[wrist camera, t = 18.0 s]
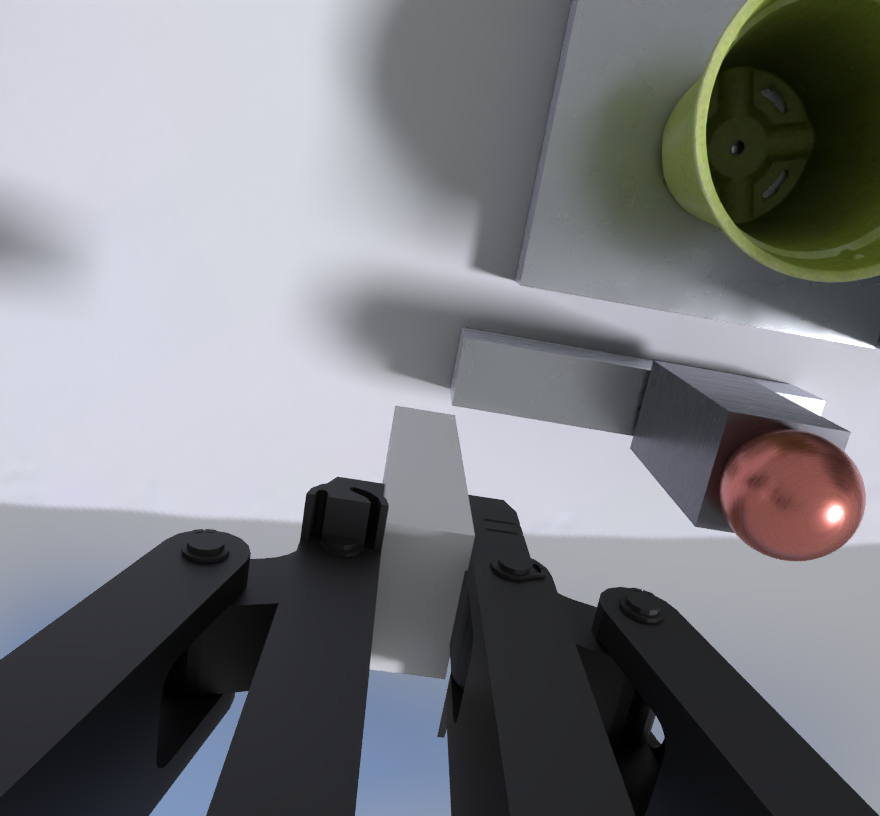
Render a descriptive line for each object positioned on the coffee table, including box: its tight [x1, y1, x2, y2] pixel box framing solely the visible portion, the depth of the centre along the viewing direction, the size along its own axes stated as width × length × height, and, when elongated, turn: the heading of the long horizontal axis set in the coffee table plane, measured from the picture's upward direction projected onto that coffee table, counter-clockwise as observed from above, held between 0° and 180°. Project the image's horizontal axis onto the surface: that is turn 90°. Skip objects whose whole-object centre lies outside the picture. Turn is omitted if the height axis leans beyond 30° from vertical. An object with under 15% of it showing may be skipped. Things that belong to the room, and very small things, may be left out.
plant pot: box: [662, 0, 880, 283], centre depth 25 cm, size 9×9×9 cm
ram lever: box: [630, 360, 866, 561], centre depth 25 cm, size 4×4×11 cm
